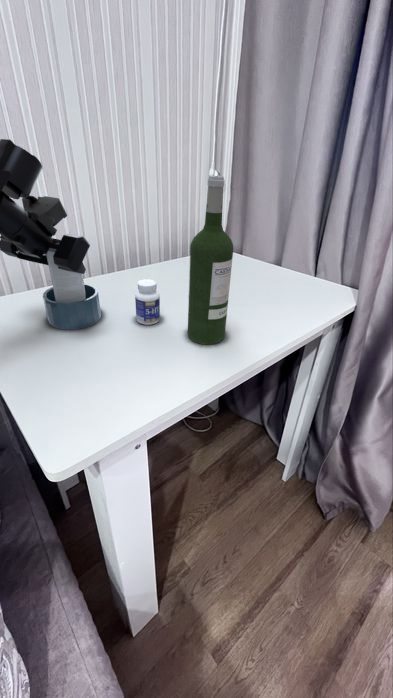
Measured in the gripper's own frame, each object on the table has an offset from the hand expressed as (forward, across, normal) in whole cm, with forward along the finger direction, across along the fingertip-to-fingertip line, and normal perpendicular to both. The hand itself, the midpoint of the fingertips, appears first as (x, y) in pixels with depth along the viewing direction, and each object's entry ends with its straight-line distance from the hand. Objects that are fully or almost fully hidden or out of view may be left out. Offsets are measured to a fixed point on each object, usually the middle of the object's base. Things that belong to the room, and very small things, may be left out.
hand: (71, 268), depth 69 cm
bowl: (+7, 0, +9) cm, 11 cm away
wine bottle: (+13, -29, +3) cm, 32 cm away
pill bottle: (+12, -14, +3) cm, 19 cm away
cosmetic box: (+4, 0, +6) cm, 7 cm away
